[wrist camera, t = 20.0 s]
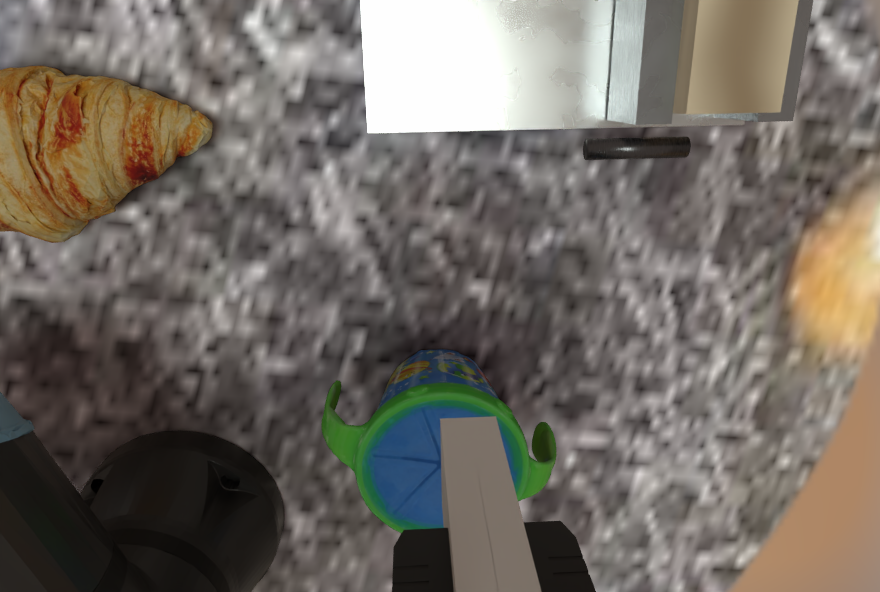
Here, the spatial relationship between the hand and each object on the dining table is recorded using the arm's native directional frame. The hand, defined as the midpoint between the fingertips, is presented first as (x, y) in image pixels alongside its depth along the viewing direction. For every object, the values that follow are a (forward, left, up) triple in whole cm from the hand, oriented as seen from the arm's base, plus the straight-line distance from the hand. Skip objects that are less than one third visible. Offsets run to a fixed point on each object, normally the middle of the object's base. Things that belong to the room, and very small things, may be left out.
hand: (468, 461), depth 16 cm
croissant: (-24, +6, -27) cm, 36 cm away
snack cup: (0, -12, -27) cm, 29 cm away
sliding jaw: (+12, +11, -25) cm, 29 cm away
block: (+15, +12, -25) cm, 32 cm away
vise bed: (+8, +12, -26) cm, 30 cm away
